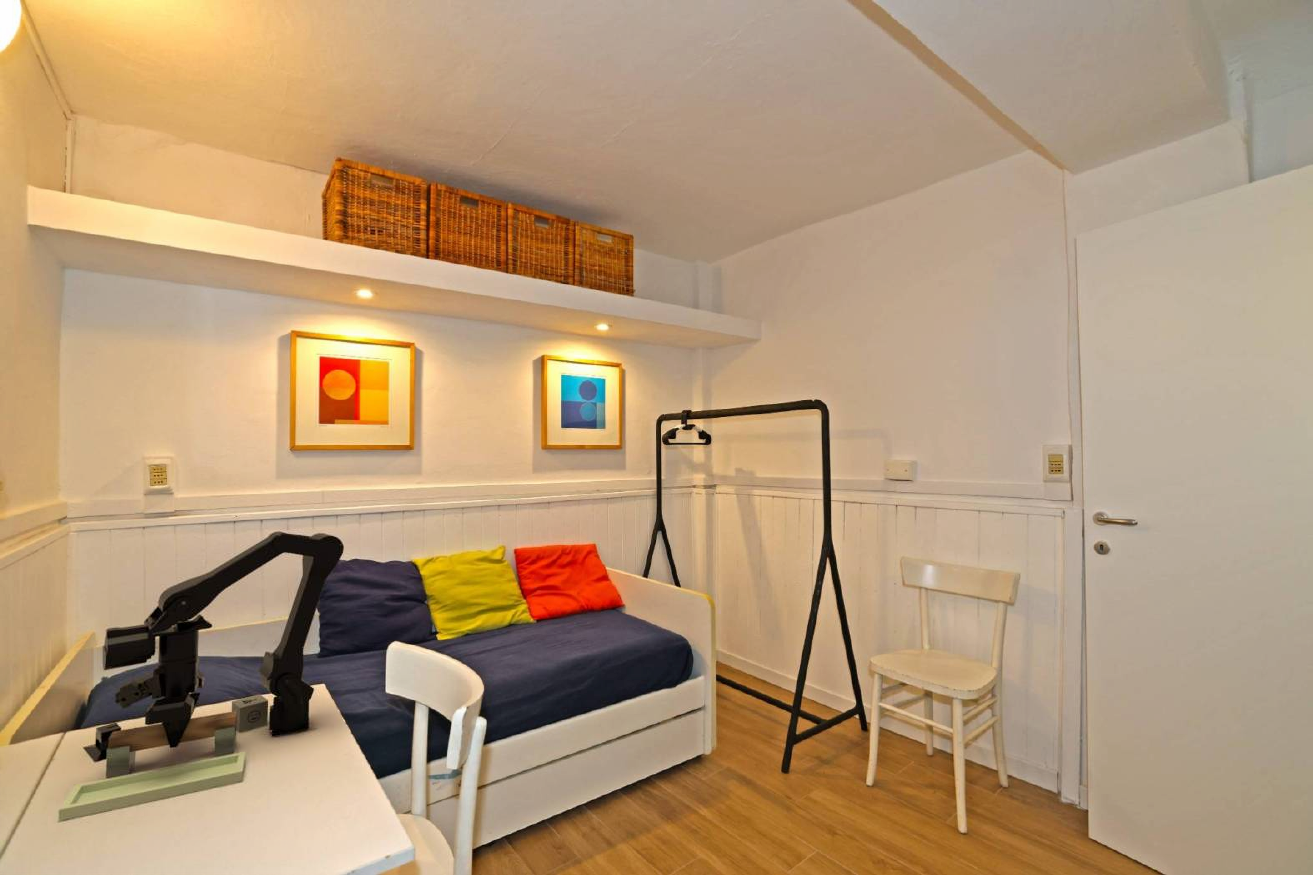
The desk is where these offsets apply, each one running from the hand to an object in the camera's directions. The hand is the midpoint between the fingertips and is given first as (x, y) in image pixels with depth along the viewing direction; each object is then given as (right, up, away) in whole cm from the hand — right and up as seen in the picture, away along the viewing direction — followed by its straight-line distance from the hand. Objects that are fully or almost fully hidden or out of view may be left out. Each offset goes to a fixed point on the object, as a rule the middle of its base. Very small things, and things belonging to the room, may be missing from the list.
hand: (175, 743), depth 111 cm
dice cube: (+4, -4, +15) cm, 15 cm away
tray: (+5, -3, -9) cm, 11 cm away
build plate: (-16, -4, +4) cm, 17 cm away
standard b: (-6, -3, -4) cm, 8 cm away
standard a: (+6, -3, +4) cm, 8 cm away
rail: (0, 0, 0) cm, 0 cm away
